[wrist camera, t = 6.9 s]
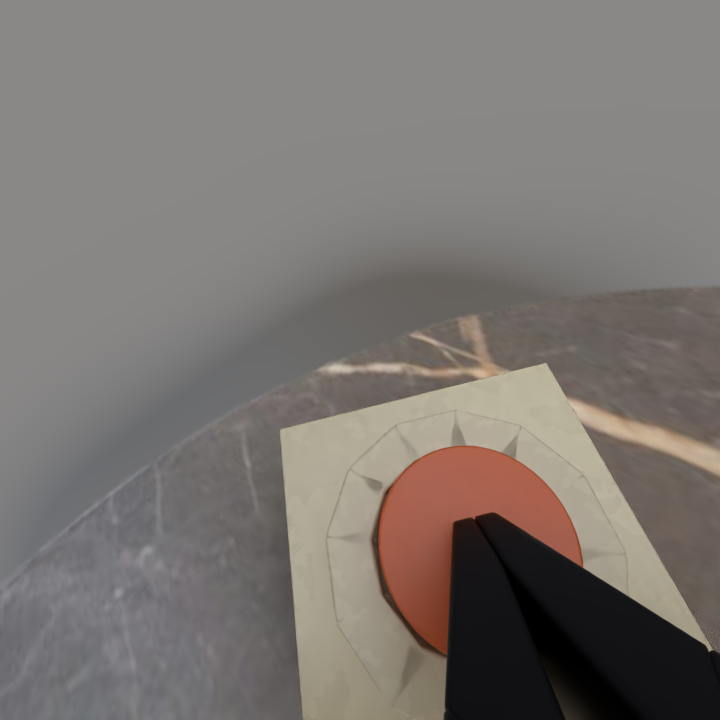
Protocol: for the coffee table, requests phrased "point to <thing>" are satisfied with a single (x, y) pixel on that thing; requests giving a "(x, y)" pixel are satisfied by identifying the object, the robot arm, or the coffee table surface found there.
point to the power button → (451, 503)
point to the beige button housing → (361, 527)
